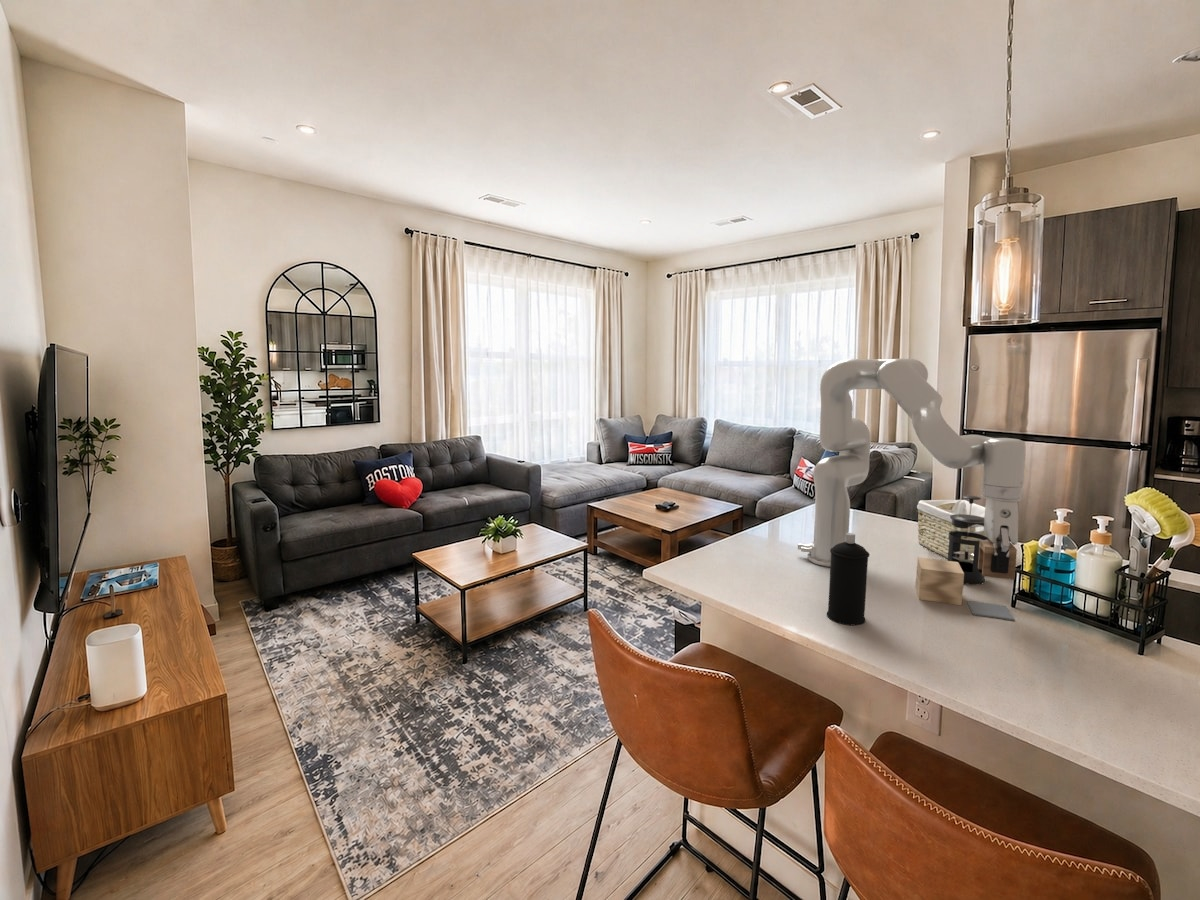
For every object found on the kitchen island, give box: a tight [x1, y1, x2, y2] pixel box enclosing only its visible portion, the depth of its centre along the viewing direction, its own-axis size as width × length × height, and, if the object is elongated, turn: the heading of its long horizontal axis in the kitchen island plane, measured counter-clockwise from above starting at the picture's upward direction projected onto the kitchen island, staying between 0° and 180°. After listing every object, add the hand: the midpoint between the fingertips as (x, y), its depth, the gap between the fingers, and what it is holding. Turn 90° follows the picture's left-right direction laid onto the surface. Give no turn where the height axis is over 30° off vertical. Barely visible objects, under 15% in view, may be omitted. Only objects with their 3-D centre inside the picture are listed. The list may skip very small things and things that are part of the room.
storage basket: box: [916, 499, 1011, 559], centre depth 171 cm, size 24×16×15 cm
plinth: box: [915, 556, 964, 606], centre depth 140 cm, size 9×9×8 cm
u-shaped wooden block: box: [978, 540, 1018, 580], centre depth 129 cm, size 6×6×7 cm
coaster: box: [966, 599, 1016, 622], centre depth 131 cm, size 8×8×1 cm
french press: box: [947, 495, 987, 585], centre depth 150 cm, size 12×9×23 cm
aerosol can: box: [826, 532, 870, 626], centre depth 127 cm, size 8×8×20 cm
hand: (995, 567), depth 129 cm, fingers closed on u-shaped wooden block, 6 cm apart
